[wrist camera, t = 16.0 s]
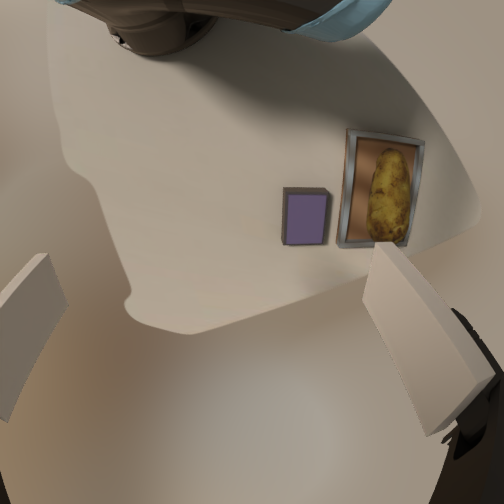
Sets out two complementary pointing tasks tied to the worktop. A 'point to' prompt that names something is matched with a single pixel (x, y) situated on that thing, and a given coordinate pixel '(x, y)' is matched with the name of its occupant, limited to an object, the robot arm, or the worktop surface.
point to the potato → (389, 198)
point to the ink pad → (304, 215)
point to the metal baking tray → (360, 179)
